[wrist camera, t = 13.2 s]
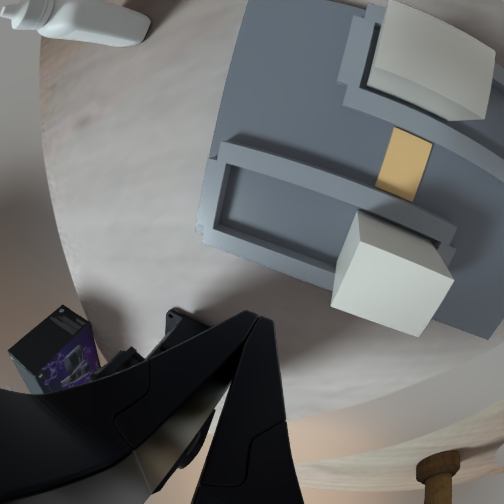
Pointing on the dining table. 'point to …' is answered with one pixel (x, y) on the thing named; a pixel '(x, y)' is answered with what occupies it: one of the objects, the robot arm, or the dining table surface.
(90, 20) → the eye dropper bottle
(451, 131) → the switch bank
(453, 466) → the mortar and pestle
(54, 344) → the box
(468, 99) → the tab
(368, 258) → the tab
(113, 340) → the dining table surface
